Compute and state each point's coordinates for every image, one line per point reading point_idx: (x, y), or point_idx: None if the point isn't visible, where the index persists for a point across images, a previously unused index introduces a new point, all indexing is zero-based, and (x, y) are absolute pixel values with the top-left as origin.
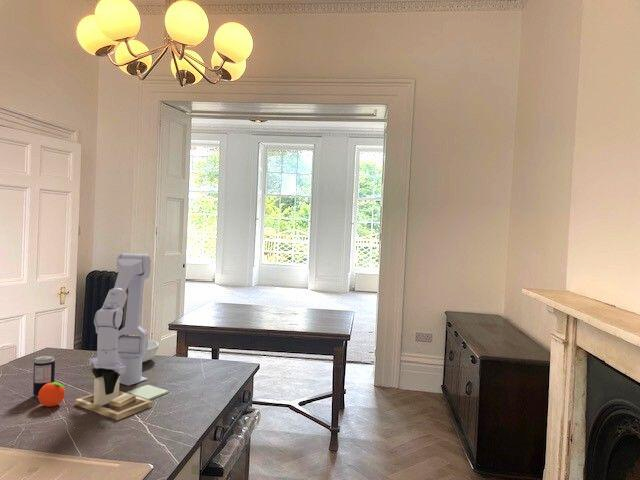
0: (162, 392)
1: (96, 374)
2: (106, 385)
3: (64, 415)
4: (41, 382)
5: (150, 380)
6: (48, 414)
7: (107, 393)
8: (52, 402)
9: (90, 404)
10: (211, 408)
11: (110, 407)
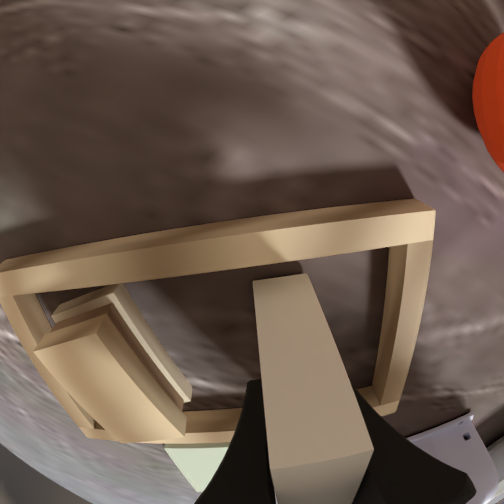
0: (197, 483)
1: (396, 491)
2: (238, 442)
3: (295, 47)
4: None
5: None
6: (390, 4)
7: (246, 389)
8: (479, 65)
9: (254, 238)
10: (22, 453)
11: (109, 308)
